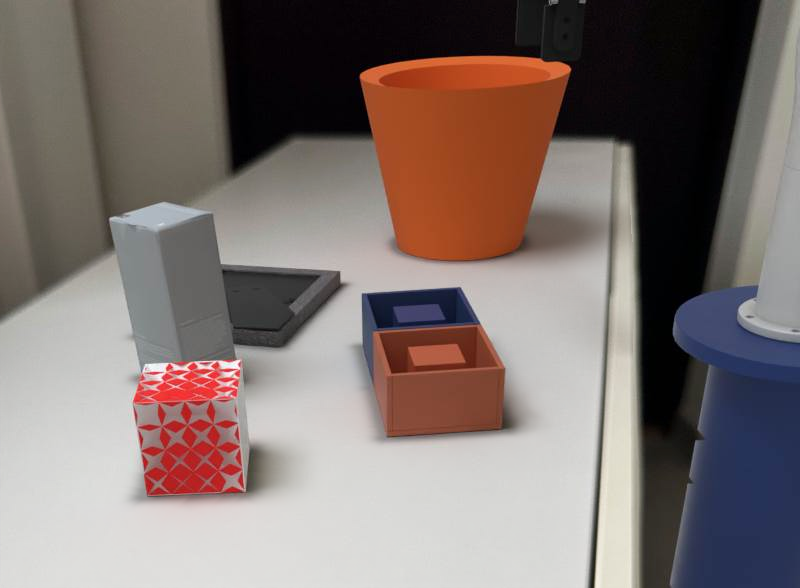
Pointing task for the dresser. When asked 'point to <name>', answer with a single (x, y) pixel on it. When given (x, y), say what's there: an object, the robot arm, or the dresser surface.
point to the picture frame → (273, 300)
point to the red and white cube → (192, 427)
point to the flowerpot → (462, 148)
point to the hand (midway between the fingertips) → (546, 52)
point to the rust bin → (438, 383)
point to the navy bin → (381, 305)
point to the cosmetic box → (173, 284)
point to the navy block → (417, 315)
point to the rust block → (435, 358)
